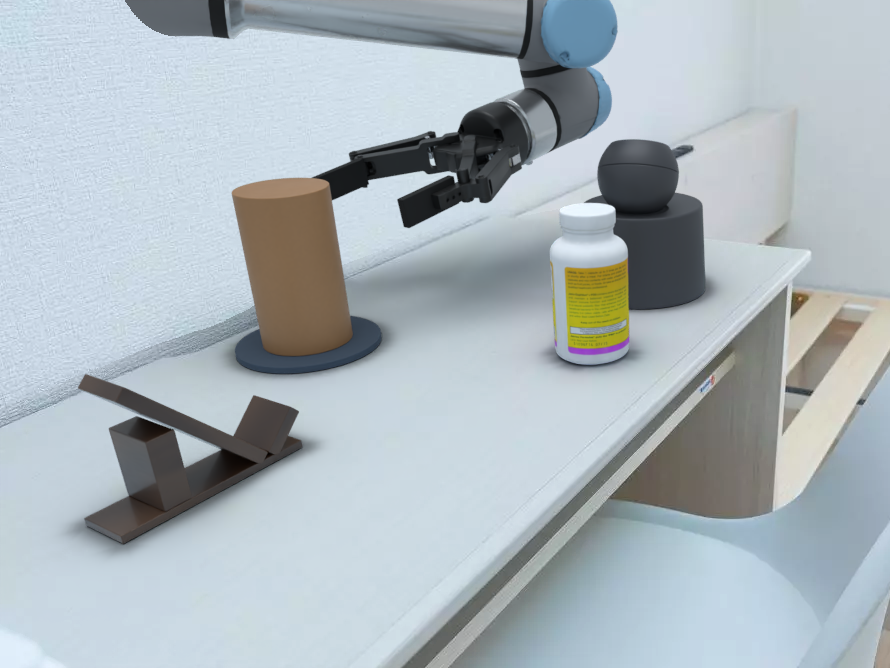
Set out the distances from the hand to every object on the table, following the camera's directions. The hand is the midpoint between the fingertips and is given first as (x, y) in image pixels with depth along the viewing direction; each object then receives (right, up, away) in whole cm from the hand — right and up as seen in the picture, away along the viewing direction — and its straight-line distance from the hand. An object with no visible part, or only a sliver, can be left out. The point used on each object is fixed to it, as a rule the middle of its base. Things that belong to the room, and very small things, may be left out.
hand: (355, 203), depth 85 cm
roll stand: (-4, -24, -25) cm, 35 cm away
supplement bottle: (+23, -15, -6) cm, 28 cm away
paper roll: (-4, -7, -6) cm, 10 cm away
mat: (-3, -14, -3) cm, 14 cm away
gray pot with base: (+28, -7, +10) cm, 31 cm away
